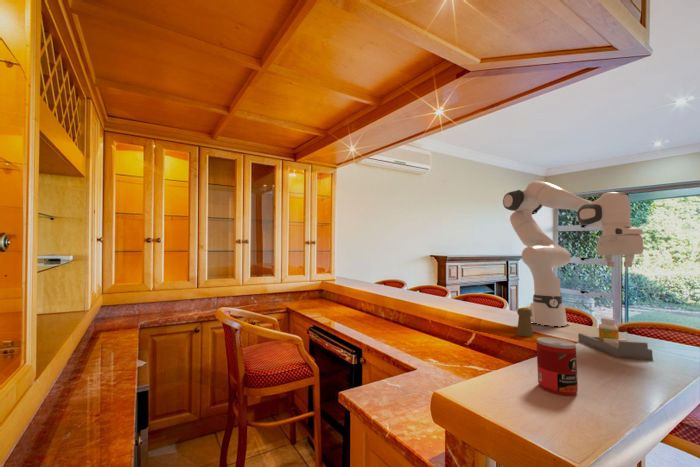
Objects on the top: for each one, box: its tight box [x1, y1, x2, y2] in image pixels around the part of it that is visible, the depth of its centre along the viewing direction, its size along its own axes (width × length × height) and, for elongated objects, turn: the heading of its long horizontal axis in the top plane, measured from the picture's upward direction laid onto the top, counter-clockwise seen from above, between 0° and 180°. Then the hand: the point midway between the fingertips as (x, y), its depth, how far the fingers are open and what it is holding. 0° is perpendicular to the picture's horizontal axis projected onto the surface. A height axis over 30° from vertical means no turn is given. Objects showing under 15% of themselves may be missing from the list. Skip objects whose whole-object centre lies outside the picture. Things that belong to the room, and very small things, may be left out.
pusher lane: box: [577, 332, 654, 361], centre depth 108 cm, size 21×10×5 cm, turn 172°
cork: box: [516, 307, 534, 338], centre depth 128 cm, size 6×6×11 cm
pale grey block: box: [604, 338, 628, 347], centre depth 105 cm, size 4×7×3 cm, turn 82°
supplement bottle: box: [598, 317, 620, 342], centre depth 110 cm, size 5×5×10 cm
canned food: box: [536, 336, 579, 397], centre depth 73 cm, size 8×8×11 cm
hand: (619, 266), depth 121 cm, fingers open, 8 cm apart
